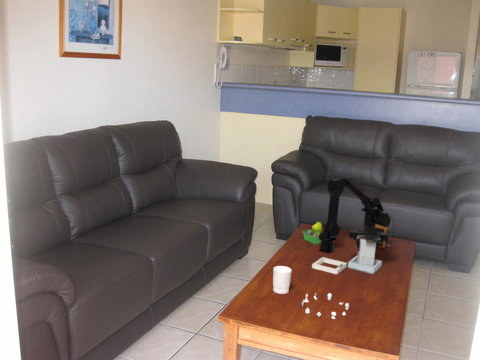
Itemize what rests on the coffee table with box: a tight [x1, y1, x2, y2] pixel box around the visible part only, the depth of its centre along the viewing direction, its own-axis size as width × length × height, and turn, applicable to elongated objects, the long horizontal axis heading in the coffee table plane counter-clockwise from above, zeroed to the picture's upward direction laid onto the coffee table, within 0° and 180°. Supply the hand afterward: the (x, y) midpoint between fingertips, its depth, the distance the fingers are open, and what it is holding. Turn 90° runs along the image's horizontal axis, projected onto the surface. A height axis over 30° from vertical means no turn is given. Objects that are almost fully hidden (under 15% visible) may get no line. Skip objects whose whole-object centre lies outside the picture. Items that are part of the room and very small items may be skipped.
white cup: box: [272, 265, 293, 295], centre depth 229 cm, size 8×8×10 cm
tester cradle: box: [311, 256, 348, 275], centre depth 261 cm, size 13×13×3 cm
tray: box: [347, 255, 383, 275], centre depth 264 cm, size 13×13×3 cm
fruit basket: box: [302, 221, 323, 245], centre depth 299 cm, size 11×9×11 cm
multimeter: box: [375, 214, 395, 249], centre depth 299 cm, size 15×10×20 cm
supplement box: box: [356, 237, 376, 267], centre depth 263 cm, size 7×7×13 cm
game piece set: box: [301, 292, 350, 320], centre depth 215 cm, size 19×20×4 cm
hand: (366, 251), depth 263 cm, fingers closed on supplement box, 7 cm apart
